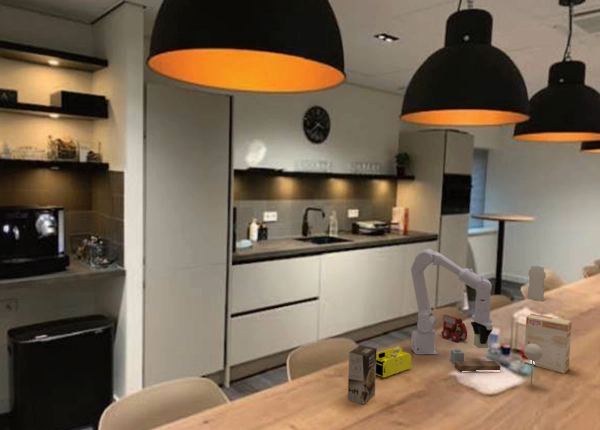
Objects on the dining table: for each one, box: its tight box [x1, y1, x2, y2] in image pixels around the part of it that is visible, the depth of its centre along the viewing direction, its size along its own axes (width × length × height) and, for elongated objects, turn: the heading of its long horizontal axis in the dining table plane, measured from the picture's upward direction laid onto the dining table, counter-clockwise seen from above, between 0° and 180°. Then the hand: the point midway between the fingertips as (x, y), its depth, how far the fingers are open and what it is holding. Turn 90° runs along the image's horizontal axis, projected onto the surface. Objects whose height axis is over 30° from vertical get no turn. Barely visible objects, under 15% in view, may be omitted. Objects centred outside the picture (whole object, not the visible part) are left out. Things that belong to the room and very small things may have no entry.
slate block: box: [449, 348, 465, 365], centre depth 186 cm, size 4×4×5 cm
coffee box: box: [347, 344, 378, 405], centre depth 153 cm, size 9×6×16 cm
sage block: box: [473, 333, 489, 349], centre depth 187 cm, size 4×4×5 cm
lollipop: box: [523, 344, 542, 385], centre depth 166 cm, size 6×6×15 cm
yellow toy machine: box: [376, 345, 413, 379], centre depth 174 cm, size 16×6×8 cm, turn 128°
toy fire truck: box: [440, 314, 468, 343], centre depth 214 cm, size 7×12×10 cm, turn 38°
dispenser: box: [527, 265, 547, 302], centre depth 293 cm, size 11×4×22 cm, turn 38°
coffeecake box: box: [523, 313, 572, 374], centre depth 183 cm, size 15×7×20 cm, turn 47°
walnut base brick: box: [454, 360, 501, 373], centre depth 179 cm, size 16×5×2 cm, turn 93°
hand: (480, 341), depth 187 cm, fingers closed on sage block, 4 cm apart
